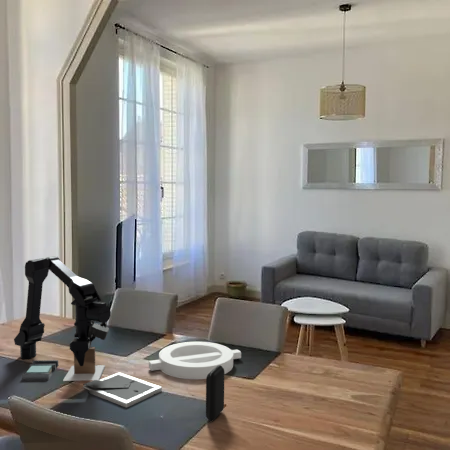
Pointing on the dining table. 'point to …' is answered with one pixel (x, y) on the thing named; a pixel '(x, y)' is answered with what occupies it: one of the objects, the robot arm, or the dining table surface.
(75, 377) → the board
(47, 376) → the rack
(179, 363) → the ring with crossbar
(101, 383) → the picture frame
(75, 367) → the brown flat block
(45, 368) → the offcut upper
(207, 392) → the carrying case or bag
